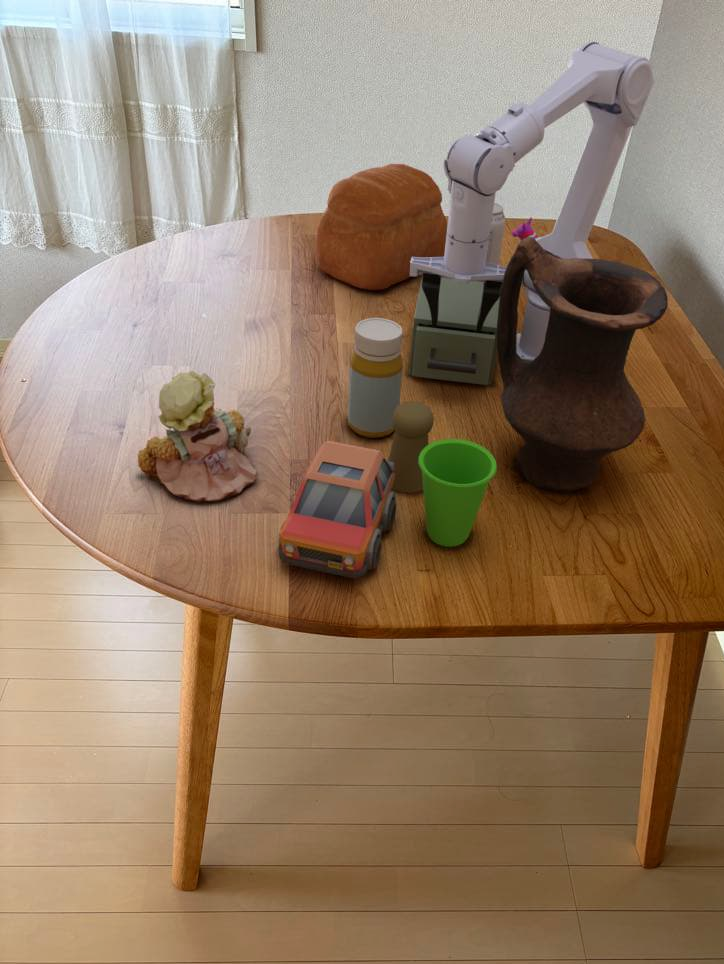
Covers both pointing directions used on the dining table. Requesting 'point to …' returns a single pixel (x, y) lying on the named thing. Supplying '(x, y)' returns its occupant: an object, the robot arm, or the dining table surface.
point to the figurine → (198, 443)
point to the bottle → (375, 377)
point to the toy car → (340, 512)
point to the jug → (574, 363)
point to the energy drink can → (496, 235)
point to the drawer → (453, 354)
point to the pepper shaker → (409, 444)
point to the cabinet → (456, 312)
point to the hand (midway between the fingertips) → (456, 327)
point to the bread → (380, 226)
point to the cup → (454, 487)
